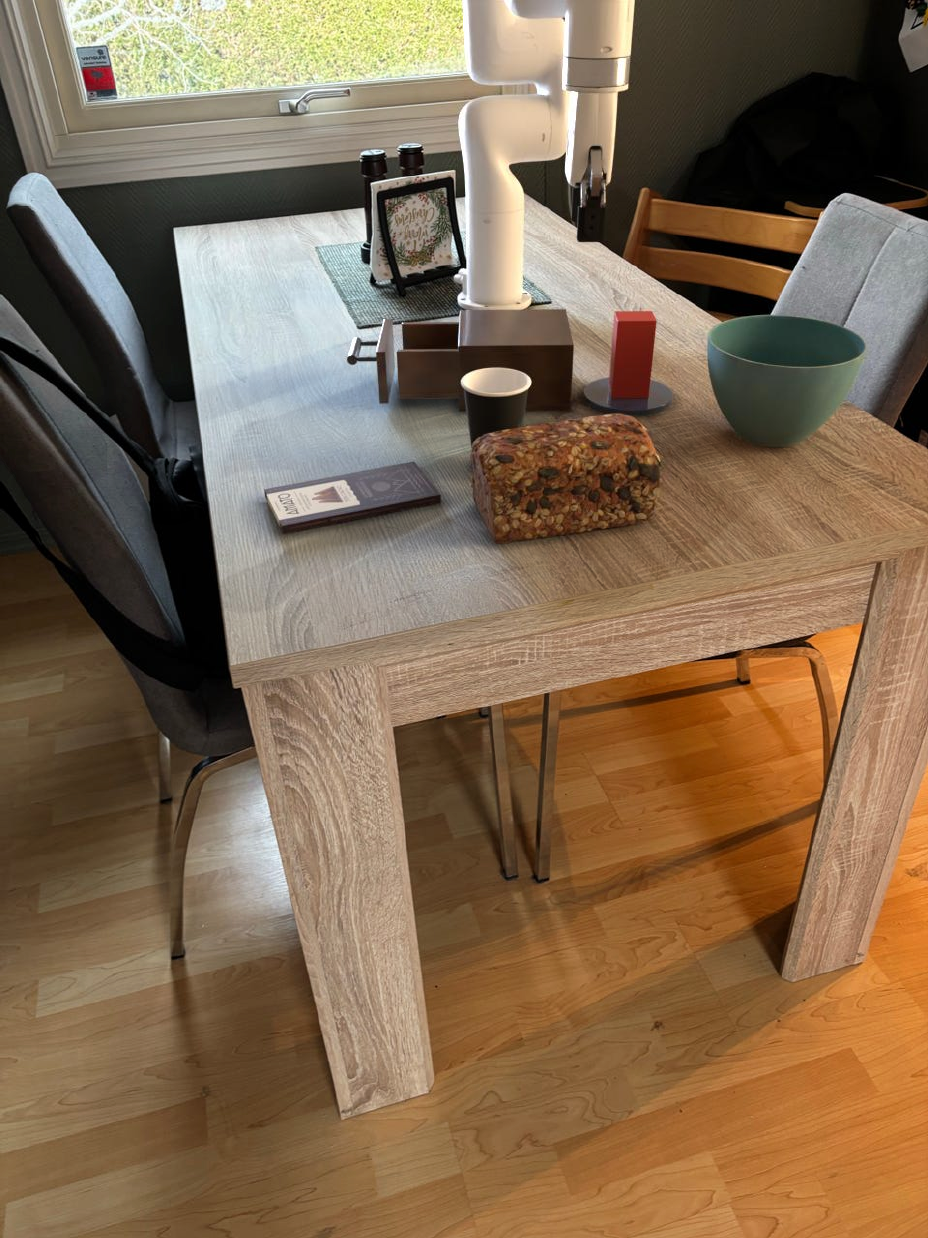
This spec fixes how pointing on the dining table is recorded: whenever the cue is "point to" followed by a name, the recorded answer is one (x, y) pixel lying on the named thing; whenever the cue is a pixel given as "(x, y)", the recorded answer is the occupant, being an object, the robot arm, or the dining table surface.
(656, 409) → the plate
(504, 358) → the cabinet
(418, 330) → the drawer
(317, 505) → the chocolate bar
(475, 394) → the dixie cup
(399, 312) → the dining table surface
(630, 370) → the red rectangular block
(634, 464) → the bread
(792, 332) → the green bowl
